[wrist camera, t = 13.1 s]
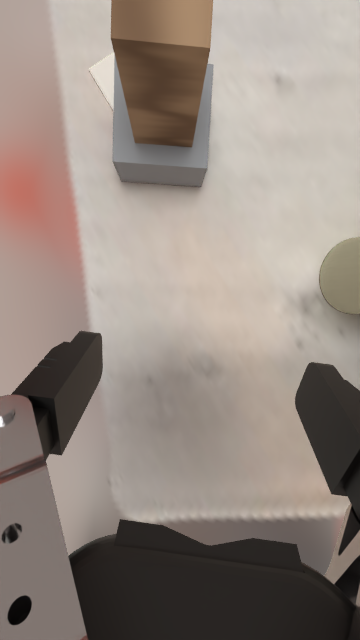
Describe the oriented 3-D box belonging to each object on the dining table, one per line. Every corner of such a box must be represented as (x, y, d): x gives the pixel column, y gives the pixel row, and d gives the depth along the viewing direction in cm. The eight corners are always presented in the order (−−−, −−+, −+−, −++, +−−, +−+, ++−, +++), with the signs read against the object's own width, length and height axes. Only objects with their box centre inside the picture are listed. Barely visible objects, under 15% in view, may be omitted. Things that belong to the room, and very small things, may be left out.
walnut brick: (195, 84, 25) (217, -68, 14) (192, 147, 26) (210, 47, 15) (136, 79, 25) (112, -81, 14) (134, 142, 26) (111, 38, 15)
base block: (205, 100, 30) (213, 64, 25) (200, 186, 31) (207, 168, 26) (123, 93, 29) (114, 55, 25) (121, 181, 31) (112, 161, 26)
